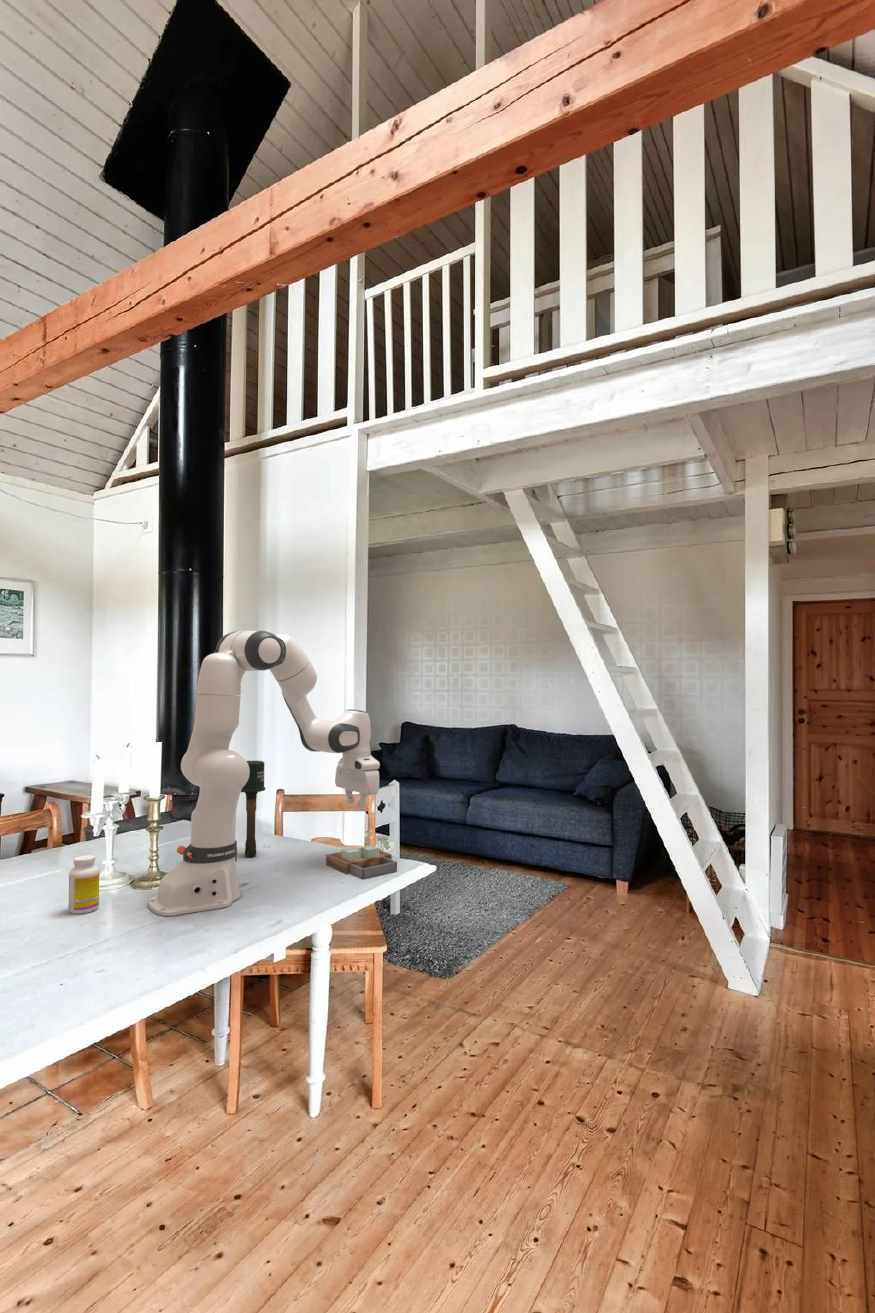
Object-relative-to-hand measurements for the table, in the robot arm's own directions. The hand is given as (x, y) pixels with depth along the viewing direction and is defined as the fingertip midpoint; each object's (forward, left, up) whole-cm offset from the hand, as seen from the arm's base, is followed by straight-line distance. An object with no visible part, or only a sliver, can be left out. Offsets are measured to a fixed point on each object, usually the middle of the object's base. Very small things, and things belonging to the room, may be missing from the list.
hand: (355, 805), depth 209 cm
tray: (-3, -14, -17) cm, 23 cm away
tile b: (0, -8, -14) cm, 16 cm away
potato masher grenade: (-24, +24, -17) cm, 38 cm away
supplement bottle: (-76, +5, -17) cm, 78 cm away
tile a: (-6, -7, -14) cm, 17 cm away
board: (-2, -5, -17) cm, 18 cm away
